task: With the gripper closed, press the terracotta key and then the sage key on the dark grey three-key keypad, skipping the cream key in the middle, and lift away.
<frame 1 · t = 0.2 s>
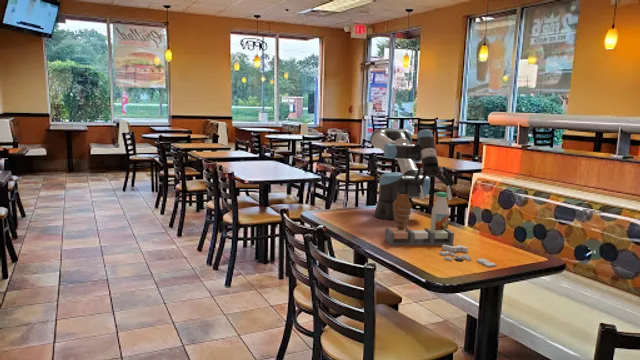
hand: (436, 199, 219), 16 cm above the table, tool tilted 35°, fingers open, 13 cm apart
terracotta key: (399, 234, 200), point 4 cm above the table, slide at 0.0 cm
white puzzle pieces: (455, 259, 184), on the table
sage key: (438, 234, 203), point 4 cm above the table, slide at 0.0 cm
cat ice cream: (400, 230, 222), on the table
milk bottle: (438, 235, 216), on the table
cream key: (419, 234, 201), point 4 cm above the table, slide at 0.0 cm
keypad: (418, 242, 202), on the table
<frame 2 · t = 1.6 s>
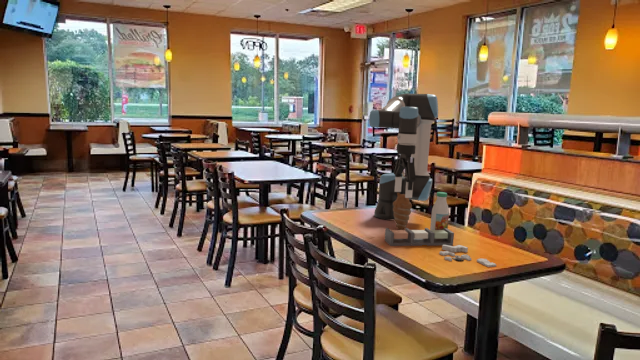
hand: (402, 194, 197), 21 cm above the table, tool pointing down, fingers open, 13 cm apart
nothing on the table moved.
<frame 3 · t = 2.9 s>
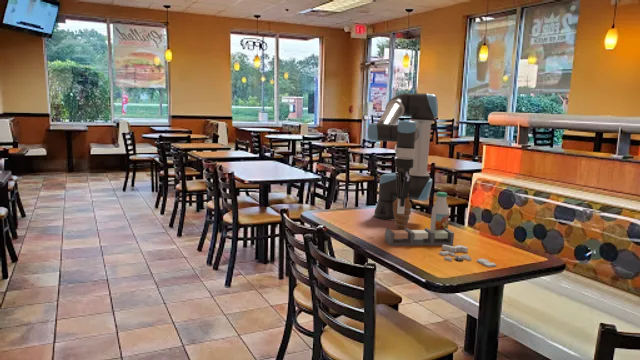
hand: (400, 213, 198), 13 cm above the table, tool pointing down, fingers closed
nothing on the table moved.
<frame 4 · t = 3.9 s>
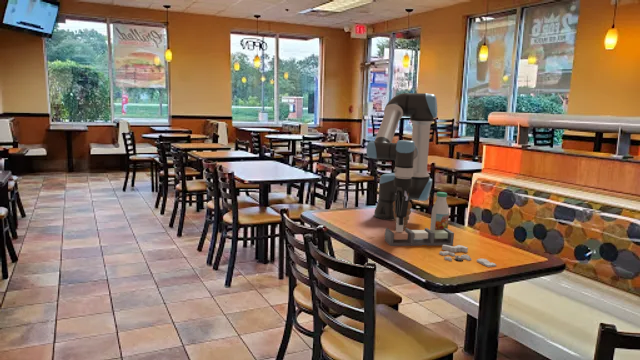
hand: (399, 231, 200), 5 cm above the table, tool pointing down, fingers closed
terracotta key: (399, 235, 200), point 3 cm above the table, slide at 0.3 cm, touching gripper
everything else where it was.
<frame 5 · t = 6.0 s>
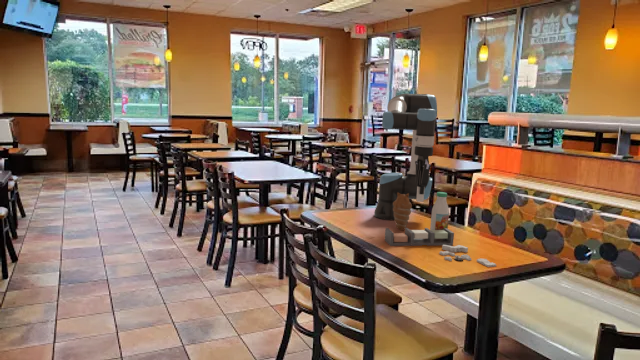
hand: (419, 201, 199), 18 cm above the table, tool pointing down, fingers closed
terracotta key: (398, 237, 200), point 2 cm above the table, slide at 1.4 cm
everything else where it was.
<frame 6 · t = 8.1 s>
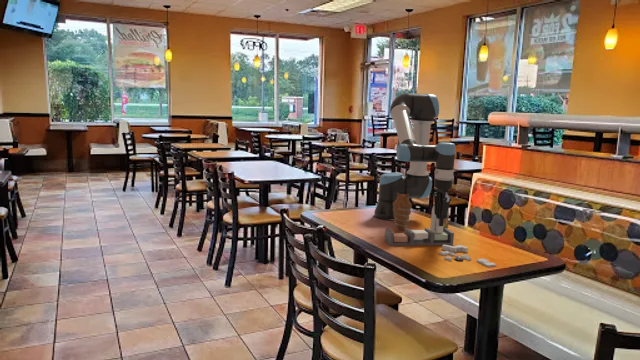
hand: (439, 232, 203), 5 cm above the table, tool pointing down, fingers closed
sage key: (438, 235, 203), point 3 cm above the table, slide at 0.7 cm, touching gripper
everything else where it was.
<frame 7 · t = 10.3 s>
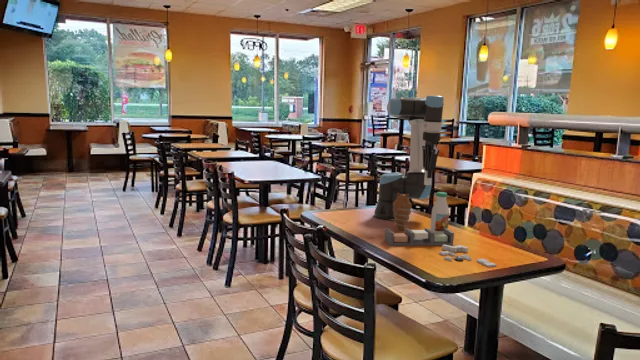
hand: (427, 184, 208), 24 cm above the table, tool pointing down, fingers closed
sage key: (438, 237, 203), point 2 cm above the table, slide at 1.4 cm
everything else where it was.
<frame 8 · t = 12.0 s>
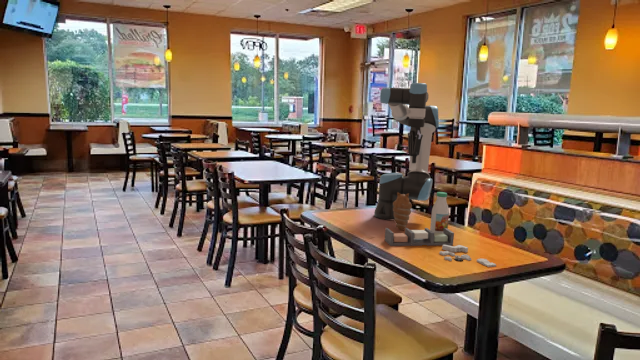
hand: (412, 170, 214), 29 cm above the table, tool pointing down, fingers closed
nothing on the table moved.
at the end: terracotta key slide at 1.4 cm; sage key slide at 1.4 cm; cream key slide at 0.0 cm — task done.
